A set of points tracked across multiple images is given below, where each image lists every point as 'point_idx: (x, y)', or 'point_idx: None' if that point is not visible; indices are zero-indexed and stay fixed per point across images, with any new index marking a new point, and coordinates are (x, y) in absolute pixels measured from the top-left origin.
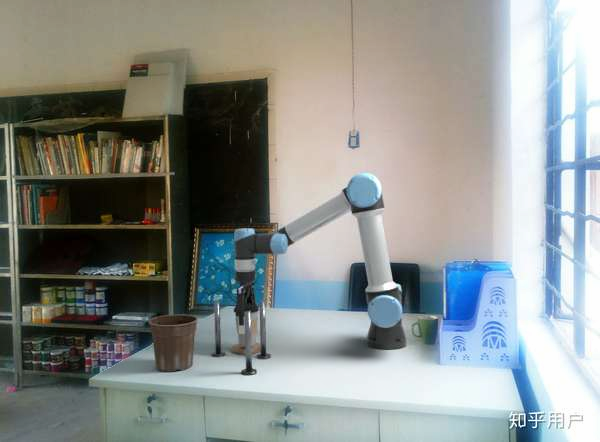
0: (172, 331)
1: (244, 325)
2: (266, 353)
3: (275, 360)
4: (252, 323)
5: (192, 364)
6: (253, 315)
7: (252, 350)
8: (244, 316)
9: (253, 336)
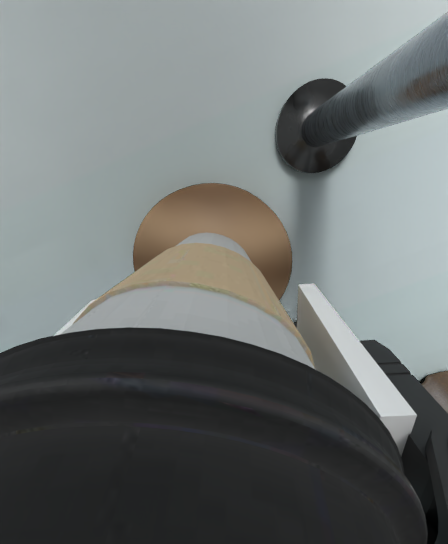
0: None
1: (344, 331)
2: (280, 125)
3: (379, 15)
4: (256, 285)
5: (441, 373)
6: (256, 334)
7: (260, 221)
8: (408, 420)
9: (225, 245)
